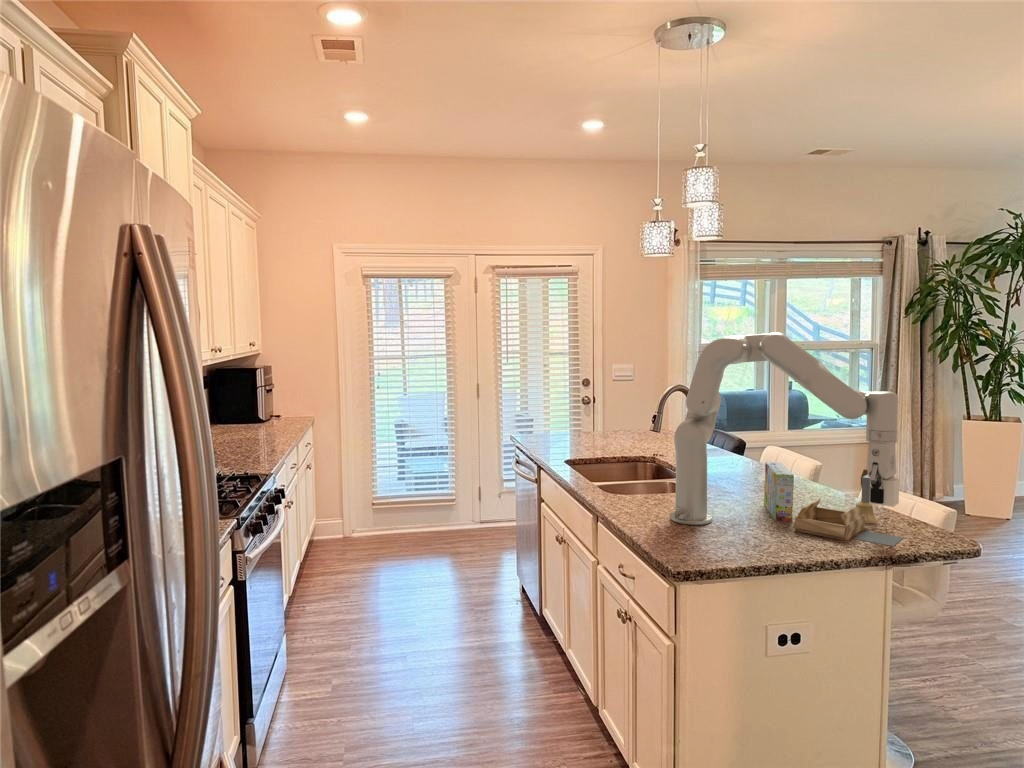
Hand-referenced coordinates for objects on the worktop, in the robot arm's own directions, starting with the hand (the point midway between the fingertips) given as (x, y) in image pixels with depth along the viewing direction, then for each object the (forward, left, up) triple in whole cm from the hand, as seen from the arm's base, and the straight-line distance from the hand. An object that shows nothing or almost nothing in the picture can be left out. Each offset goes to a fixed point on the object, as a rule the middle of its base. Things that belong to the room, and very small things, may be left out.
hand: (879, 500), depth 184 cm
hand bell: (+18, +9, -12) cm, 23 cm away
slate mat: (0, 0, -11) cm, 11 cm away
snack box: (+9, +32, -12) cm, 35 cm away
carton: (0, +13, -11) cm, 17 cm away
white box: (0, 0, -1) cm, 1 cm away
